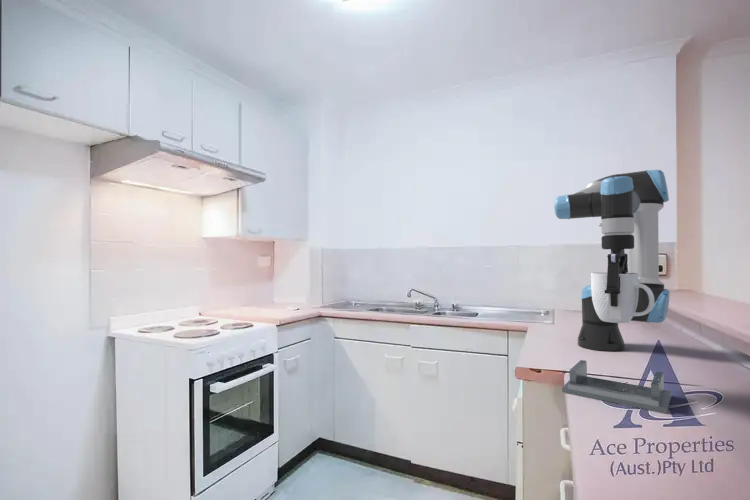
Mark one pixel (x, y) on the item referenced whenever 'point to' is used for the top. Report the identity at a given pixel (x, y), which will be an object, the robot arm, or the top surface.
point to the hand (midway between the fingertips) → (619, 316)
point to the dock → (619, 390)
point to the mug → (628, 296)
